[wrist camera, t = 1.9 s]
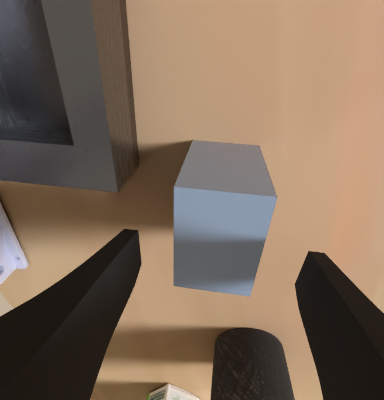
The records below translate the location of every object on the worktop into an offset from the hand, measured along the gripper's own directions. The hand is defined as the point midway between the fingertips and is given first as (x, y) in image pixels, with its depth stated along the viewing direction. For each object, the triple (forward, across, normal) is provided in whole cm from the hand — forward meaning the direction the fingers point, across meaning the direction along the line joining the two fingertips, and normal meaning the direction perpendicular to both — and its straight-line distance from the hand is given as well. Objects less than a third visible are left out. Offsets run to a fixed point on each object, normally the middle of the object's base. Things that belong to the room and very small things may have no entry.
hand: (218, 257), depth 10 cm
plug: (+7, 0, 0) cm, 7 cm away
